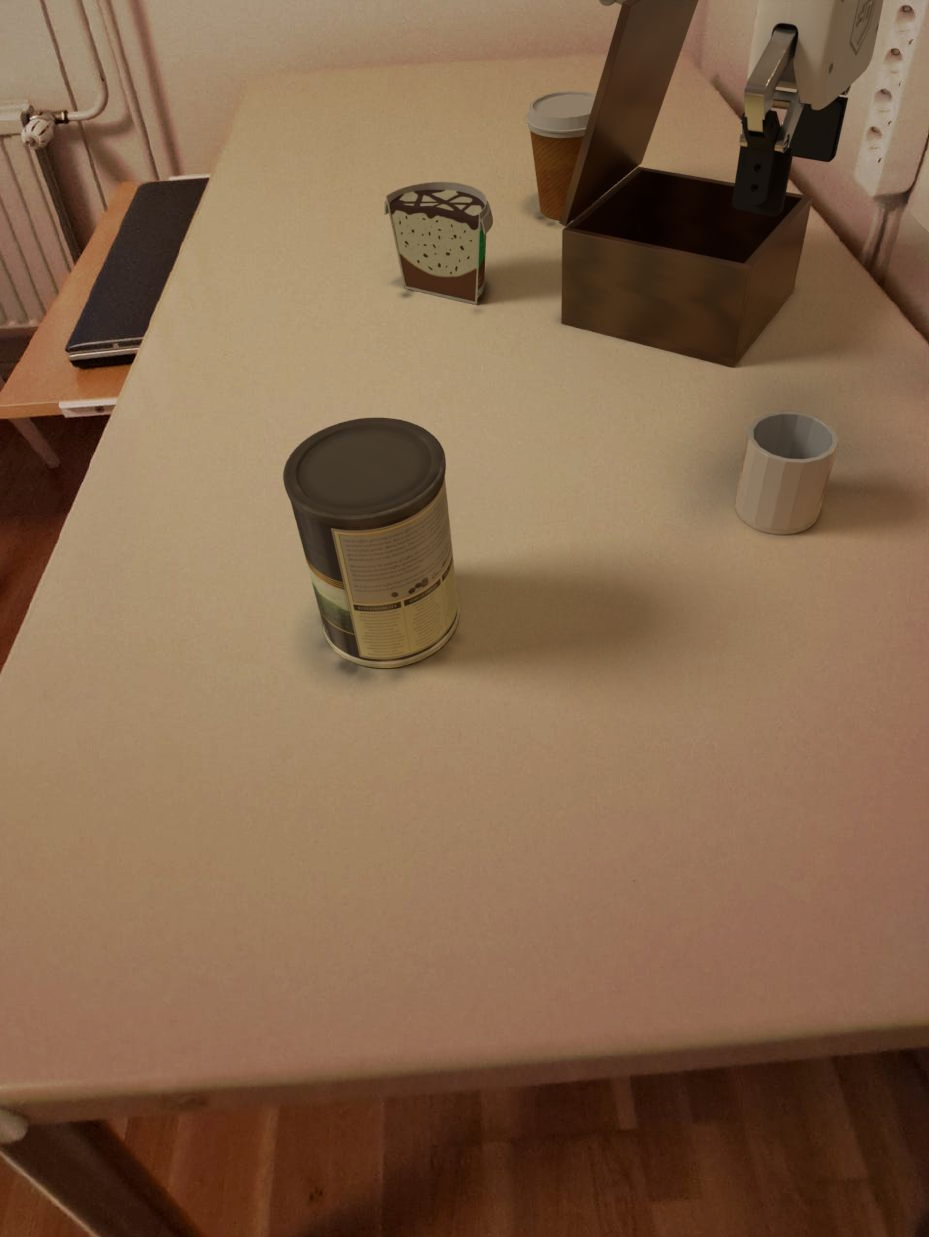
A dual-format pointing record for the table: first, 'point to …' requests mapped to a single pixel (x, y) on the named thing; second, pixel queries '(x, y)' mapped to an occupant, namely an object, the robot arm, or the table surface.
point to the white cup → (785, 471)
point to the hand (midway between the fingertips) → (784, 183)
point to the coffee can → (376, 538)
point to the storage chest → (680, 265)
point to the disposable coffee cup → (557, 143)
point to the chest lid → (628, 96)
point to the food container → (441, 238)
